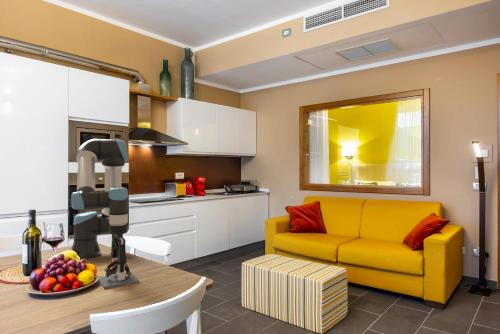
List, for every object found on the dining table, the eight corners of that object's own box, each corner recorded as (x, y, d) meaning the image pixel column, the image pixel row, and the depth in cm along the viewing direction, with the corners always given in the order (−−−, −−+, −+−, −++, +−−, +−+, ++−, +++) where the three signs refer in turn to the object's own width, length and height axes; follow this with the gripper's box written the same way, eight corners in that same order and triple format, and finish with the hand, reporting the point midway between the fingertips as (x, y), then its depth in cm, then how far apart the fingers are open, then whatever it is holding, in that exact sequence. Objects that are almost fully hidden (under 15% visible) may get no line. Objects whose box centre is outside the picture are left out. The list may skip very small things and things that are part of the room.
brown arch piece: (130, 280, 145) (119, 265, 142) (110, 290, 145) (99, 275, 142) (136, 265, 156) (126, 251, 154) (117, 274, 156) (107, 260, 154)
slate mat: (97, 279, 150) (97, 277, 150) (130, 273, 158) (130, 271, 158) (104, 289, 139) (104, 286, 139) (139, 282, 147) (139, 280, 147)
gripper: (103, 221, 156) (103, 270, 156) (115, 229, 137) (115, 285, 137) (121, 219, 160) (121, 268, 160) (134, 227, 141) (134, 281, 141)
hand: (118, 276), depth 149 cm, fingers closed on brown arch piece, 10 cm apart
